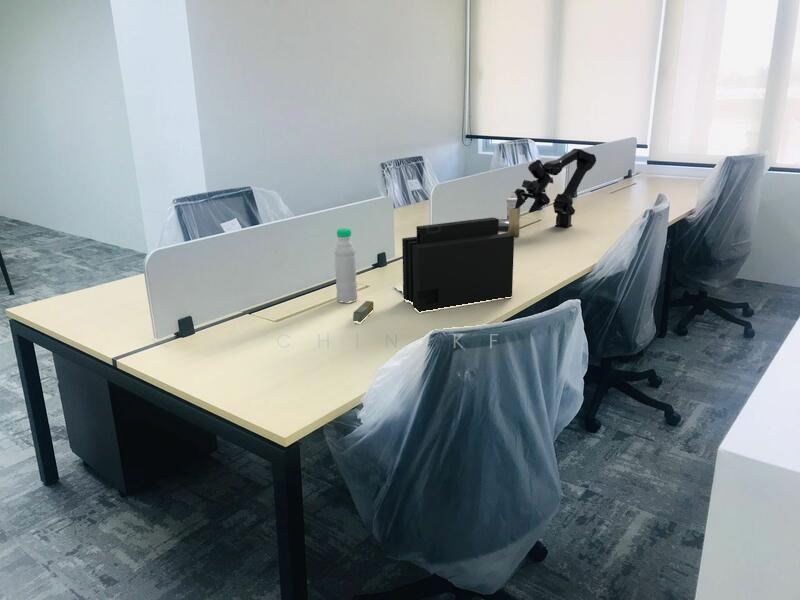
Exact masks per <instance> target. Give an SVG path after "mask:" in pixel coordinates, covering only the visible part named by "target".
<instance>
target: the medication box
mask: <svg viewBox="0 0 800 600" xmlns="http://www.w3.org/2000/svg"><path fill="white" fill-rule="evenodd" d="M372 310H373V311H374V301H372V300H371V301H370V300H366V301H364V302H363V303H362V304H361V305H360V306H359V307H358V308H357V309H355V310H354V311H353V315H352V317H353V318H352V320H353V321H358V322H361V321H362V320H363V319H364V318H365V317H366V316H367V315H368V314H369V313H370V312H371V311H372Z"/></svg>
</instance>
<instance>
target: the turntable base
mask: <svg viewBox="0 0 800 600" xmlns="http://www.w3.org/2000/svg"><path fill="white" fill-rule="evenodd" d="M508 228H509V227H499V228H498V231H508Z"/></svg>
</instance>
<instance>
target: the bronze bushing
mask: <svg viewBox="0 0 800 600" xmlns="http://www.w3.org/2000/svg"><path fill="white" fill-rule="evenodd" d="M520 219H521V208H520V209H519V208H510V209H509V228H508V230H507V231H508V232H507V233H509V234H511V235H514V237H516V238H520V225H521V224H520Z"/></svg>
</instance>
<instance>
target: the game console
mask: <svg viewBox="0 0 800 600" xmlns="http://www.w3.org/2000/svg"><path fill="white" fill-rule="evenodd" d="M499 219H500V218H497V217H494V216H493V217H485V218H477V219H467V220H459V221H452V222H443V223H442V222H441V223H434V224H427V225H426V224H425V225H424V224H423V225H417V226H416V236H409V237H403V238H401V239H402V240H401V241H402V242H401V243H402V244H401V245H402V249H401V250H402V253H401V254H402V285H403V294H402V295H403V296H402V297H403V298H404V299H406V300H409V301H411V302H413V305H412V306H413V307H414V308H416V309H417V310H418V311H419V312H421V311H426V310H433V309H438V308H444V307H450V306H456V305H462V304H468V303H474V302H480V301H486V300H492V299H498V298H505V297H511V296H512V297H513V282H514V280H513V279H514V278H513V277H514V276H513V275H514V257H515V256H514V254H515V253H514V250H515V238H514V235H511V234H509V233H508V232H506V233H499V230H498V228H499ZM413 307H412V308H413Z"/></svg>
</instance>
